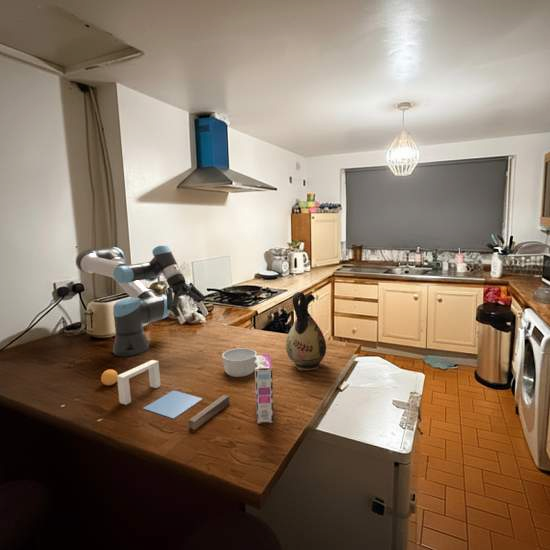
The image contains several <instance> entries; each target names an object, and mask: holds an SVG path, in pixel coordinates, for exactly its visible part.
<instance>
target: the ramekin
mask: <svg viewBox="0 0 550 550" xmlns="http://www.w3.org/2000/svg"><path fill="white" fill-rule="evenodd" d="M255 355H258V352H257V351H256V350H254V349H251V348H246V347H244V348H243V347H242V348H241V347H237V348H233V349H227V350H226V351H224V352H223V353H222V354H221V356H222V357H221V359H222V362H223V368H224V371H225V374H227V375H228V376H230V377H236V378H239V377H240V378H241V377H246V376H249V375H251V374H253V373H254V372H255Z"/></svg>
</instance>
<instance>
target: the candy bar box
mask: <svg viewBox="0 0 550 550" xmlns="http://www.w3.org/2000/svg"><path fill="white" fill-rule="evenodd" d="M273 378H274V377H273V366H272V360H271V355H270V354H257V355H255V370H254V380H255V381H254V385H255V387H254V389H255V390H254V391H255V413H256V423H257V424H258V425H261V424H272V423H273V424H274V392H273V391H274V386H273V384H274V383H273Z"/></svg>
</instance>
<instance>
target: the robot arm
mask: <svg viewBox="0 0 550 550" xmlns="http://www.w3.org/2000/svg"><path fill="white" fill-rule="evenodd" d="M152 256H153V257H152V259H151V260H150V261H147V262H141V263H133V264H130V263H126V261H127V260H126V256H125V253H124V252H123V250H122V249H121V248H119V247H115V246H109V247H99V248H98V247H97V248H89V249H88V248H87V249H85V250H82V251H81V252H79V253H78V254H77V255H76V258H75V265H76V267H77V269H78V270H79V271H81V272H83V273H86V274H94V273H95V274H98V275H102V276H106V277H110V278H112V279H114V281H115V282H116V283H117V284H118V285H119V286H120V287H121V288H122V289H123V291H125V293H126V294H127V295H128V296H129V298H128V297H127V298H124V299H120V300H119V301H117V302H115V303H114V304H113V309H112V310H113V312H112V313H113V319H114V328H115V329H114V330H115V331H114V332H115V339H114V343H113V347H112V352H113V353H114V354H115V356H116V355H117V356H118V357H130V356H136V355H140V354H143V353H145V352H147V351H148V350H149V349H150V344H149V341H148V338H147V336H146V334H145V333H144V332H145V331H144V325H147V324H149V323H153V322H156V321H161V320H162V319H165V318H167V317H168V316H169V315H170V312H172V313H173V314H174V316H175V318H177V319H178V322H179V323H180V324H181V325H183V324H184V323H185V322H186V319H185V318H184V316H183V313H182V311H181V309H180V307H178V303H179V299H180V297H183V296H187V297H189V298H191V299H192V300H194V301H196V303H197V305H198V307H199V310H200V312H201V313H202V315H203V317H206V316H208V315H209V312H208V309H207V305H206V304H205V302H204V301H205V299H206V296H204V294H203V293H202V292H201V291H199V290H198V288H196V287H195V286H194V284H193V282H189V284H187V282H186V279H185V277H184V276H185V275H184V274H183V273H182V271H181V268H180V267H179V265H178V262H177V261H176V259H175V256H174V255H173V253H172V251H171V250H170V247H169V246H168V245H167V244H160V245H157V246H155V247H154V248H153V249H152ZM162 274H163V277H164V280H165V281H166V283H167V286H168V288H166V289H165V293H166V294H158V293H157V292H156V291H155V290H153V289H148V287H147V286H146V285H144V283H143V282H142V281H143V280H145V281H147V282H154V281H156V280H157V279H158V278H159V277H160V276H161V275H162ZM114 354H113V355H114Z"/></svg>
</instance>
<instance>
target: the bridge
mask: <svg viewBox="0 0 550 550" xmlns="http://www.w3.org/2000/svg"><path fill="white" fill-rule="evenodd" d="M159 362H160V361H159V360H155V359H150V360H148V361H146V362H145V363H142V364H140V365H138V366H136V367H133V368H130V369H129V370H127V371H124V372H122V373H120V374H118V376H117V381H116V383H117V391H118V400H119V404H122V405H124V406H125V405H126V406H127V405H128V404H130V403H132V397H131V386H130V379H131V378H133V377H135V376H138V375H139V374H141V373H145V372H146V371H148V378H149V387H150V388H154V389H157V388H159V387H161V385H162V384H161V375H160V364H159Z"/></svg>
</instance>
